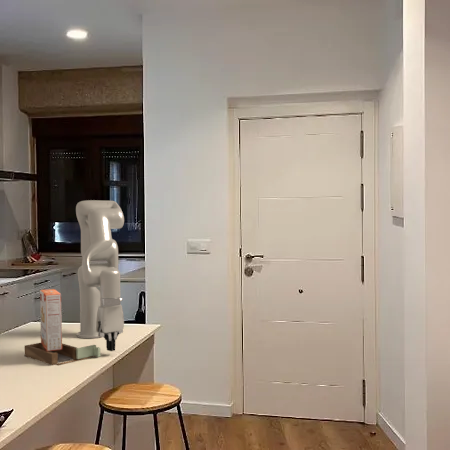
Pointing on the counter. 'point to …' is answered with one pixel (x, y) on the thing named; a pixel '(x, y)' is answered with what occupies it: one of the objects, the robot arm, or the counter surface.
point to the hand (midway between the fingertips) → (110, 350)
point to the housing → (52, 354)
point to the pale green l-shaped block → (87, 351)
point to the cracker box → (51, 319)
